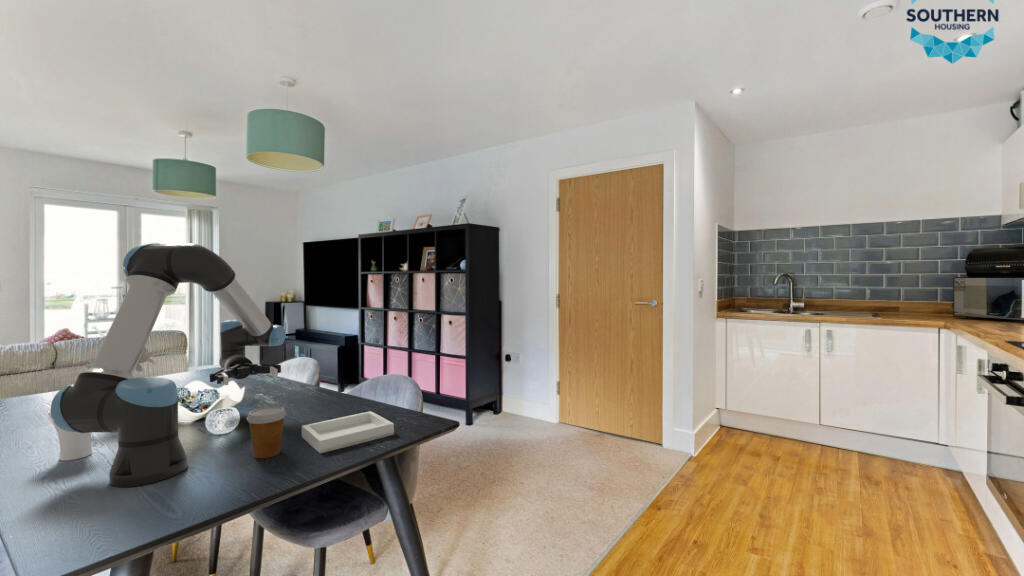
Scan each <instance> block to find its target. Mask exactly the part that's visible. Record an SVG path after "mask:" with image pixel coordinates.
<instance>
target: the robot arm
mask: <svg viewBox="0 0 1024 576" xmlns="http://www.w3.org/2000/svg"><path fill="white" fill-rule="evenodd" d="M122 266H123V267H124V269H123V273H124V274H125V276H126V278H125V281H126V283H127V284H128V286H129V288H128V290H127V292H126V294H125V296H124V298H123V300H122V302H121V304H120V306H119V309H118V310H117V313H116V315H115V317H114V319H113V320H112V323H111V325H110V328H109V329H108V331H107V333H106V336H105V338H104V339H103V341H102V344H101V346H100V348H99V349H98V352H97V355H96V356H95V358H94V361H92V362H93V364H92V367H91V368H90V369H88V368H87V369H85V370H83V371H81V372H80V373H79V374H78V376H77V378H76V381H75V382H74V383H73V384H68V385H65V387H64V388H61V389H59V391H57V392H56V394H55V395H54V397H53V399H52V401H51V404H50V410H51V417H52V418H53V419H54V423H55V424H56V425H57V426H58V427H59V428H61V429H63V430H65V431H70V432H79V433H89V432H92V433H109V434H110V433H112V434H113V433H114V434H115V433H117V443H118V444H117V445H118V448H117V451H116V453H115V454H116V455H115V456H114V460H113V462H112V464H111V468H110V470H109V473H108V474H109V475H108V476H109V477H108V479H109V480H108V481H109V484H110V485H111V486H112V487H113V486H114V487H118V488H131V487H140V486H144V485H150V484H154V483H156V482H161V481H164V480H168V479H169V478H172V477H174V476H176V475H179V474H180V473H182V472H183V471H184V470H186V469H187V468H188V464H189V463H188V461H189V460H188V455H187V453H186V451H185V449H184V447H183V443H182V442H181V440H180V437H179V394H178V387H177V385H176V383H175V381H173V380H172V379H169V378H166V377H157V376H152V377H151V376H149V377H142V376H141V377H135V376H133V375H134V372H135V371H136V370H135V368H136V366H137V363H138V361H139V359H140V357H141V354H142V352H143V350H144V347H146V345H147V342H148V341H149V338H150V335H151V333H152V331H153V328H154V326H155V323H156V321H157V320H158V317H159V315H160V313H161V311H162V308H163V305H164V303H165V300H166V298H167V297H168V296H172V295H174V294H176V291H177V288H178V286H179V285H180V284H183V283H186V284H187V283H191V284H196V285H199V286H200V287H201V288H202V289H203V290H204V291H206V292H208V293H212V294H213V295H214V297H216V299H218V301H219V302H220V303H221V304H222V305H223V306H224V307H225V308H226V310H227V311H229V313H230V314H231V315H232V316H233V318H235V319H227V320H223V321H221V322H220V333H219V334H220V358H219V365H220V367H218V368H217V370H215V371H213V372H211V373H209V382H210V383H214V382H215V381H216V384H217V385H221V384H222V383H223V385H224V386H228V385H229V379H231V378H232V379H235V380H244V379H246V378H248V377H249V376H251V375H252V376H253V375H254V376H255V375H258V374H263V375H264V374H266V375H267V374H268V375H270V376H271V377H272V378H274V379H278V377H279V374H280V373H282V364H276V363H265V362H261V363H260V364H258V363H253V361H251V360H250V359H249V358H248V357H247V356H246V347H274V346H281V345H283V343H285V342H284V341H285V340H286V335H287V333H286V332H287V331H286V329H285V327H284V326H283V325H279V324H273V323H272V322H271V321H270V319H268V317H267V316H266V315H265V313H264V312H263V310H261V308H259V306H258V305H257V303H256V302H255V301H254V300H253V298H252V297H251V296H250V295H249V293H247V291H246V290H245V288H243V286H242V285H241V283H239V281H238V280H237V278H236V277H237V276H236V275H237V274H236V272H235V270H234V269H233V268H232V267H231V265H229V263H228V262H227V261H226V260H225V259H223V258H222V257H221V256H220V255H218V254H217V253H215V252H214V251H212V250H210V249H209V248H207V247H205V246H203V245H200V244H197V243H192V242H184V243H180V242H178V243H159V242H150V243H142V244H139V245H136V246H134V247H132V248H131V249H130V250H129V251H128V252H127V253H126V254H125V256H124V258H123V263H122Z"/></svg>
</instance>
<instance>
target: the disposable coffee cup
mask: <svg viewBox="0 0 1024 576" xmlns="http://www.w3.org/2000/svg"><path fill="white" fill-rule="evenodd" d="M286 415H287V412H286V410H285V408H284V407H283V406H266V407H260V408H256V409H252V410H251V411H249V412H248V415H247V416H246V420H247V422H248V426H249V431H250V437H251V438H250V439H251V444H252V450H253V454H254V455H253V457H254V458H256V459H267V458H269V459H270V458H273V457H276V456H277V455H279V454H280V453H281V450H282V449H281V447H282V439H283V432H284V431H283V430H284V422H285V417H286Z"/></svg>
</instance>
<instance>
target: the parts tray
mask: <svg viewBox="0 0 1024 576" xmlns="http://www.w3.org/2000/svg"><path fill="white" fill-rule="evenodd" d="M394 435H395V423H394V422H392V421H390V420H388V419H387V418H384V417H382V416H381V415H379V414H377V413H375V412H373V411H366V412H360V413H356V414H350V415H346V416H341V417H337V418H333V419H326V420H322V421H319V422H318V421H317V422H314V423H309V424H303V425H301V438H302V439H303V440H305V441H306V442H307V443H308V444H309V445H310V446H311V447H312V448H313V449H314V450H316V452H318V453H319V454H323V453H327V452H328V453H329V452H331V451H335V450H340V449H343V448H347V447H351V446H355V445H358V444H364V443H366V442H370V441H374V440H378V439H382V438H385V437H389V436H394Z"/></svg>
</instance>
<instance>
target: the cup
mask: <svg viewBox="0 0 1024 576" xmlns="http://www.w3.org/2000/svg"><path fill="white" fill-rule="evenodd" d="M46 413H47V415H48V417H49V419H50V420H51V423H52V425H53V426H54V429H55V431H56V434H57V436H58V441H59V448H60V449H59V450H60V451H59V458H58V459H59V460H60V461H63V462H64V461H73V460H79V459H83V458H85V457H88V456H91V455H92V454H93V449H92V434H93V432H89V433H79V432H70V431H65V430H63V429H61V428H59V427H58V426H57V425H56V424H55V423H54V419H53V418H52V417H51V409H49V410H48V411H47V412H46Z"/></svg>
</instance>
